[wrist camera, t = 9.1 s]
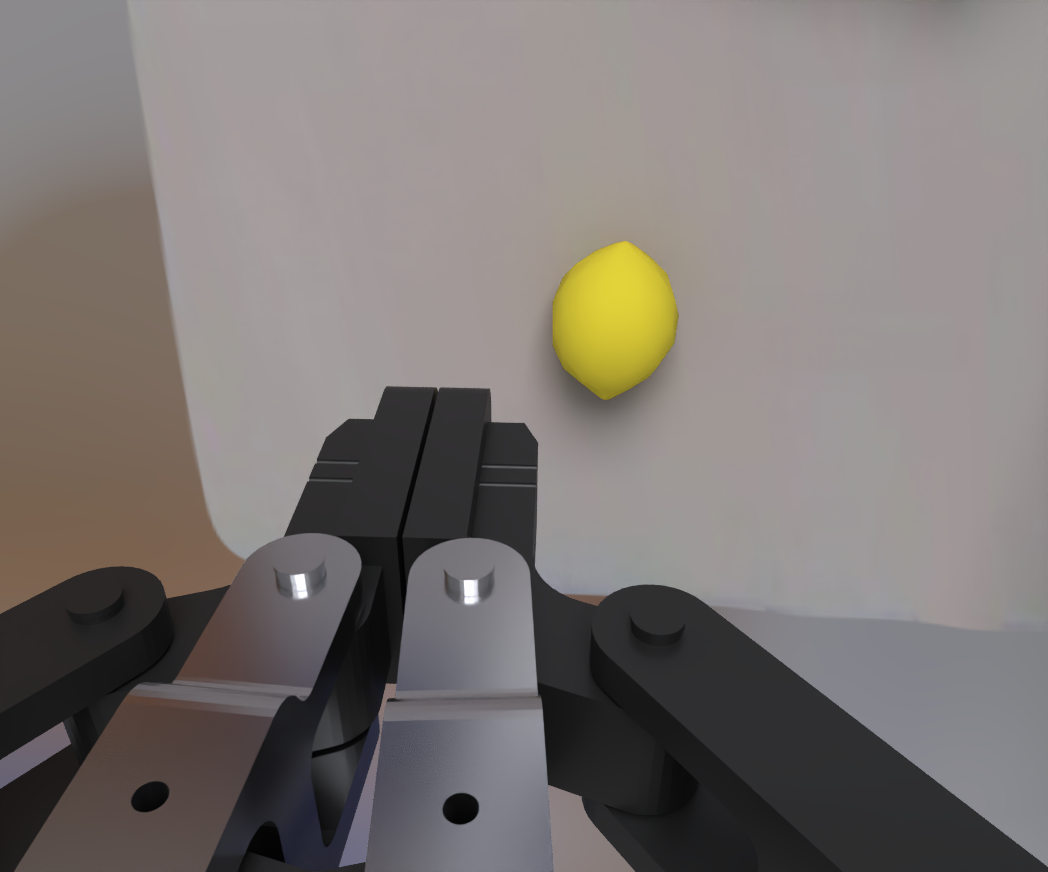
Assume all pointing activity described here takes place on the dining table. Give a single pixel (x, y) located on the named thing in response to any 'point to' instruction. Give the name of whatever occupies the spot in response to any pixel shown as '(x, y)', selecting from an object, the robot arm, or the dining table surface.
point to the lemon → (614, 319)
